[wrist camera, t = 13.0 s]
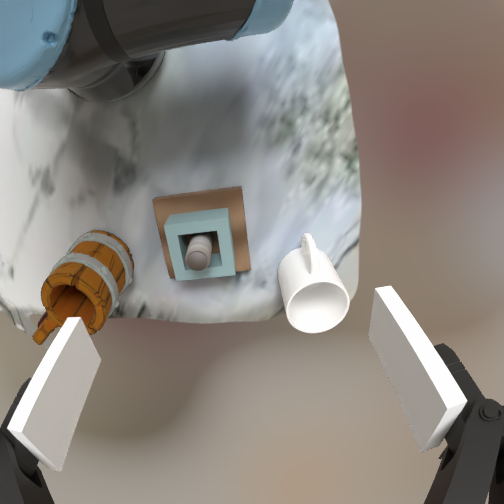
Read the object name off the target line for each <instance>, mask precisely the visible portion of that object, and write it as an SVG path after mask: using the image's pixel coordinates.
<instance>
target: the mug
mask: <svg viewBox="0 0 504 504" xmlns="http://www.w3.org/2000/svg"><path fill="white" fill-rule="evenodd" d="M131 257H132V255H131V254H130V252H129V248H128V247H127V246H126V244H125V243H123V242H122V241H121V240H120V239H119V238H117V237H116V236H114V235H113V234H109V232H105V231H100V230H99V231H91V232H88V233H86V234H85V235H83V236H81V237H80V238H78V239H77V240H76V241H75V242H74V244H73V245H72V246H71V247H70V249H69V251H68V252H67V254H66V256H64V257H63V258H62V259H60V261H59V262H58V263H57V264H56V265H55V266H54V267H53V269H52V271H51V273H50V275H49V276H48V278H47V279H46V280H45V282H44V284H43V286H42V289H41V299H42V303H43V306H44V307H45V309H46V312H45V314H44V315H43V316H42V317H41V319H40V321H39V323H38V329H37V331H36V332H35V333H34V335H33V340H35V342H36V343H37V344H38V345H41V344H42V343H43V342H44V341H45V340H46V339H47V337H48V336H49V334H50V333H51V332H52V331H54V329H55V328H57V327H59V326H60V327H61V328H62V326H63V325H64V323H65V321H66V320H67V318H68V317H81V318H82V321H83V323H84V325H85V327H86V330H87V332H88V334H89V335H92V334H95V333H96V332H97V330H100V329H101V327H103V325H104V323H105V321H106V319H107V318H108V317H109V316H110V315H111V314H112V312H113V311H114V309H115V308H116V307H118V306H119V300H118V297H119V296H120V295H121V294H122V293H123V292H124V291H125V289H126V288H127V287H128V285H129V284H131V283H132V281H133V278H132V274H133V268H134V263H133V260H132V259H131Z"/></svg>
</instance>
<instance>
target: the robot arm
mask: <svg viewBox="0 0 504 504" xmlns="http://www.w3.org/2000/svg"><path fill="white" fill-rule="evenodd" d="M293 1H294V0H0V88H1V89H11V90H15V91H24V90H29V89H52V88H67V89H68V90H69V91H70V92H71V93H73V94H74V95H75V96H77V97H79V98H81V99H84V100H87V101H91V102H112V101H117V100H121V99H123V98H126V97H128V96H130V95H132V94H134V93H135V92H137V91H138V90H140V89H141V88H142V87H143V86H144V85H146V84H147V83H148V82H149V80H150V79H151V78H152V77H153V76H154V74H155V73H156V71H157V70H158V68H159V66H160V64H161V62H162V59H163V56H164V53H165V51H166V50H171V49H175V48H180V47H185V46H190V45H195V44H200V43H206V42H212V41H219V40H226V41H233V40H234V39H238V38H239V37H243V36H250V35H256V34H264V33H268V32H270V31H272V30H275V28H278V27H279V26H280V25H281V24H282V23H283V22H284V21H285V19H286V18H287V16H288V14H289V12H290V10H291V7H292V4H293ZM368 337H369V339H370V341H371V343H372V345H373V347H374V349H375V351H376V353H377V355H378V357H379V359H380V362H381V363H382V366H383V368H384V370H385V372H386V374H387V376H388V379H389V381H390V382H391V385H392V387H393V389H394V391H395V394H396V396H397V398H398V400H399V403H400V405H401V407H402V409H403V412H404V414H405V416H406V418H407V421H408V423H409V425H410V428H411V430H412V432H413V435H414V437H415V439H416V442H417V444H418V447H419V449H420V452H424V451H427V450H430V449H432V448H435V447H438V446H439V445H440V444H441V442H442V441H443V439H444V438H445V439H446V441H447V444H448V445H447V447H446V448H445V450H444V451H443V452H442V454H441V455H440V457H439V459H441V458H442V457H443V458H442V461H441V463H440V466H439V469H438V471H437V474H436V476H435V479H434V481H433V484H432V486H431V489H430V491H429V493H428V495H427V498H426V500H425V502H424V504H485V502H486V498H487V495H488V492H489V502H488V504H504V406H501V405H500V404H499V403H498V402H496V401H494V400H492V399H486V398H485V397H484V396H483V395H482V393H481V391H480V390H479V388H478V387H477V385H476V384H475V382H474V381H473V379H472V377H471V376H470V374H469V373H468V372H467V370H465V367H464V365H463V364H462V362H460V360H459V358H458V357H457V355H456V354H455V352H454V351H453V350H452V349H450V348H449V347H448V346H446V345H445V344H443V343H442V344H439V345H436V346H433V345H432V344H431V342H430V341H429V339H428V338H427V336H426V335H425V333H424V332H423V331H422V329H421V327H420V326H419V325H418V323H417V322H416V320H415V319H414V317H413V316H412V314H411V313H410V312H409V310H408V309H407V307H406V306H405V305H404V303H403V302H402V300H401V299H400V298H399V296H398V295H397V293H396V292H395V291H394V289H393V288H392V287H391V286H386V287H380V288H375V293H374V301H373V309H372V317H371V323H370V330H369V336H368ZM100 362H101V359H100V356H99V354H98V352H97V351H96V348H95V346H94V344H93V342H92V340H91V338H90V336H89V334H88V332H87V330H86V327H85V325H84V323H83V321H82V318H81V317H68V318H67V320H66V321H65V323H64V325H63V326H62V328H61V329H60V331H59V333H58V335H57V336H56V338H55V339H54V341H53V343H52V344H51V346H50V348H49V349H48V351H47V353H46V354H45V356H44V358H43V360H42V361H41V363H40V365H39V367H38V369H37V371H36V372H35V374H34V376H33V378H29V379H28V380H27V381H26V382H25V383H24V384H23V385H22V386H21V388H20V390H19V392H18V394H17V397H15V399H14V401H13V404H12V405H11V407H10V409H9V411H8V413H7V415H6V417H5V419H4V421H3V424H2V425H1V428H0V504H54V501H53V499H52V497H51V495H50V492H49V490H48V487H47V485H46V482H45V480H44V477H43V475H42V472H41V470H40V469H39V467H38V466H37V464H38V461H40V462H41V463H42V464H43V465H44V466H45V467H47V468H49V469H53V470H57V471H61V470H62V467H63V464H64V461H65V458H66V455H67V451H68V449H69V445H70V442H71V439H72V437H73V434H74V431H75V428H76V425H77V422H78V419H79V416H80V414H81V411H82V408H83V406H84V403H85V400H86V398H87V395H88V392H89V390H90V387H91V385H92V382H93V380H94V377H95V375H96V372H97V370H98V367H99V365H100Z"/></svg>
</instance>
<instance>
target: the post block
mask: <svg viewBox="0 0 504 504" xmlns="http://www.w3.org/2000/svg"><path fill="white" fill-rule="evenodd" d="M153 205H154V210H155V215H156V220H157V224H158V229H159V234H160V238H161V243H162V247H163V251H164V255H165V260H166V264H167V268H168V272H169V276H170V278H175V273H174V269H173V265H172V261H171V256H170V252H169V247H168V243H167V238H166V234H165V229H164V224H165V222H166V221H167V219H168V217H169V215H172V214H180V213H187V212H195V211H203V210H211V209H220V208H228V209H229V216H230V224H231V232H232V239H233V246H234V254H235V270H236V271H245V270H251V267H250V258H249V249H248V241H247V232H246V223H245V214H244V206H243V197H242V188H241V186H240V187H231V188H223V189H214V190H206V191H199V192H191V193H184V194H177V195H170V196H163V197H157V198H155V199H154V200H153ZM184 235H185V240H186V245H187V253H186V256H185V262H186V265H187V266H188V267H189V268H190V269H192V270H194V271H202V270H204V269H206V268H207V267H208V266H209V264H210V259H211V254H216V253H220V247H219V240H218V234H217V231H209V232H201V233H192V234H184Z"/></svg>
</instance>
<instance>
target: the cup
mask: <svg viewBox="0 0 504 504" xmlns="http://www.w3.org/2000/svg"><path fill="white" fill-rule="evenodd" d="M278 280H279V284H280V289H281V293H282V297H283V302H284V306H285V311H286V315H287V318H288V321H289V322H290V324H291V325H292V326H293V327H294V328H296V329H297V330H299V331H302V332H306V333H320V332H324V331H327V330H329V329H331V328H333V327H334V326H336V325H337V324H338V323H339V322H341V321H342V319H343V318H344V317H345V315H346V313H347V311H348V308H349V296H348V293H347V291H346V289H345V287H344V286H343V284H342V282H341V280H340V278H339V276H338V274H337V273H336V271H335V269H334V267H333V265H332V263H331V262H330V260H329V258H328V257H327V256H326V255H325V254H324V253H323V252H322V251H321V250H319V249H317V247H316V244H315V242H314V239H313V238H312V236H311V235H310V234H309V233H304V234H303V235H302V238H301V247H300V248H297V249H294V250H292V251H291V252H289V253H288V254H287V255H286V256H285V257H284V258H283V259H282V261H281V263H280V265H279V268H278Z"/></svg>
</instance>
